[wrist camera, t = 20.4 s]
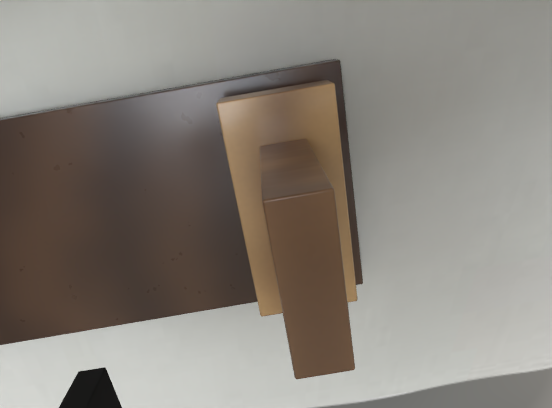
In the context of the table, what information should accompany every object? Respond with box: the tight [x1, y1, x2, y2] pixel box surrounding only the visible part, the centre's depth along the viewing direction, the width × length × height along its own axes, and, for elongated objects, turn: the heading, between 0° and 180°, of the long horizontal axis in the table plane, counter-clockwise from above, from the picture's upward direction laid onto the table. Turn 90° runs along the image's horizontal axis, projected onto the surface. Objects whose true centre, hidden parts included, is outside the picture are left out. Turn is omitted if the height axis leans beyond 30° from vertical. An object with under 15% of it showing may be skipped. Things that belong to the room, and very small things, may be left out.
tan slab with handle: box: [216, 80, 357, 379], centre depth 21 cm, size 6×13×12 cm, turn 9°
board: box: [0, 59, 363, 345], centre depth 27 cm, size 28×15×2 cm, turn 99°
